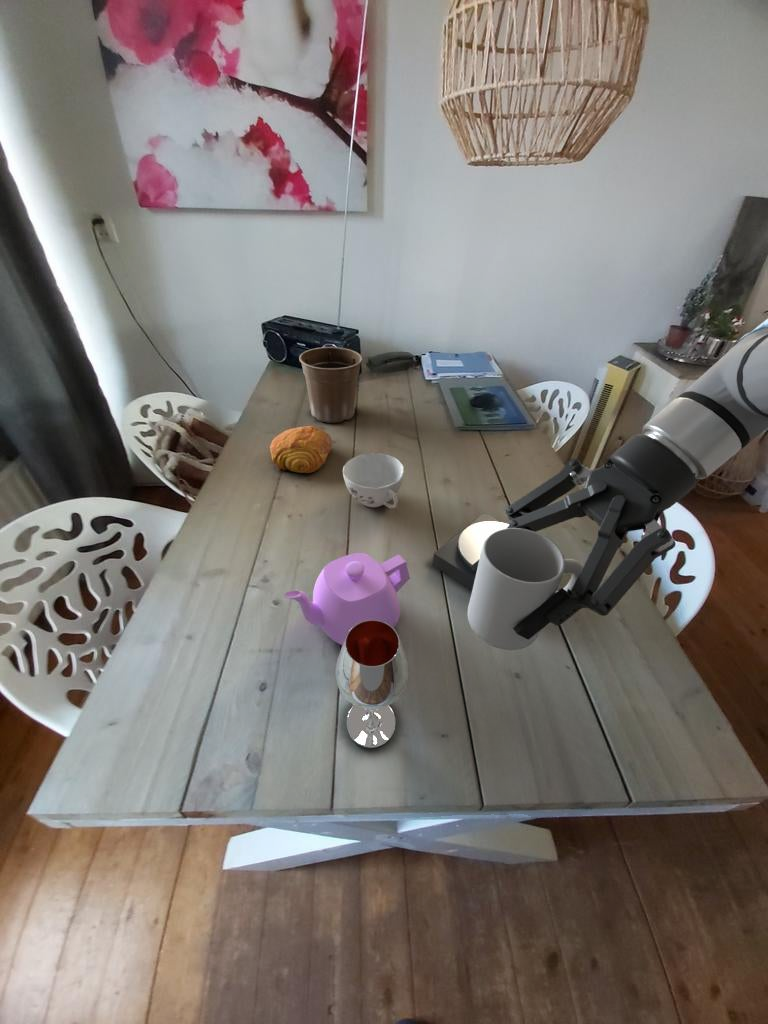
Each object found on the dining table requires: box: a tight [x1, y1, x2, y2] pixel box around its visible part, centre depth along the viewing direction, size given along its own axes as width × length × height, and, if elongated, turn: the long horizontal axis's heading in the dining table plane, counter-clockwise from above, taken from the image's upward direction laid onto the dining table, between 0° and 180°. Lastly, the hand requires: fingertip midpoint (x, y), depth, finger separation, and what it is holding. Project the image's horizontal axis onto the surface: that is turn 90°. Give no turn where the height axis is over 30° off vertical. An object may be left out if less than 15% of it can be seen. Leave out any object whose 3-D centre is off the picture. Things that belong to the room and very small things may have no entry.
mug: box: [467, 528, 584, 651], centre depth 49 cm, size 12×8×11 cm
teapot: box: [283, 552, 411, 646], centre depth 67 cm, size 13×20×11 cm, turn 119°
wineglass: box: [334, 620, 409, 749], centre depth 52 cm, size 8×8×18 cm
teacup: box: [342, 452, 405, 509], centre depth 91 cm, size 15×12×8 cm
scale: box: [432, 512, 501, 592], centre depth 79 cm, size 16×16×4 cm
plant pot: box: [298, 346, 363, 424], centre depth 120 cm, size 16×16×16 cm
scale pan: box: [458, 521, 509, 567], centre depth 78 cm, size 14×14×1 cm
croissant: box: [269, 425, 332, 474], centre depth 105 cm, size 14×16×8 cm
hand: (497, 601), depth 49 cm, fingers closed on mug, 8 cm apart
